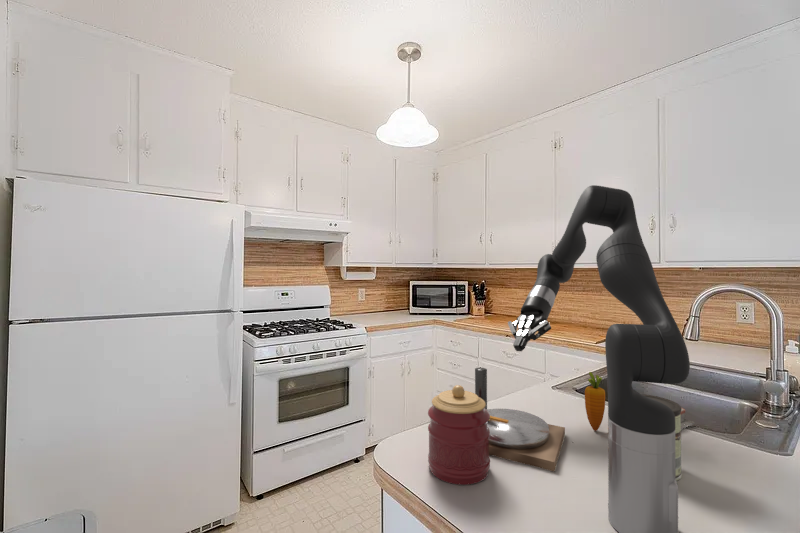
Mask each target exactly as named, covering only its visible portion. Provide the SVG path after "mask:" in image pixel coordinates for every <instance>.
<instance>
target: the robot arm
mask: <svg viewBox="0 0 800 533" xmlns="http://www.w3.org/2000/svg"><path fill="white" fill-rule="evenodd" d="M586 223H587V224H590V225H597V226H601V227H606V228H610V229H611V230H612V233H611V234H610V235H609V236H608V237H607V238H606V239H605V240H604V241H603V242H602V243H601V245H600V247H599V248H598V250H597V252H596V256H595V257H596V258H595V259H596V260H595V261H596V265H597V270H598V274H599V279H600V282H601V284H602V285H603V287H604V288H605V289H606V290H607V291H608V292H609V293H610V294H611V296H613V297H614V298H615V299H617V301H619V302H621V303H622V304H623V305H624V306H625V307H627V308H628V309H629V310H630V311H632V312H633V313H634V314H635V315H636V316H637V317H638V318H639V320H640V321H641V323H642V324H641V323H640V324H639V323H638V324H635V323H613V324H611V325H609V327H608V328H607V330H606V334H605V343H604V346H605V362H606V364H605V365H606V377H607V378H606V379H607V427H608V430H607V431H608V432H607V437H608V438H607V443H608V445H607V454H608V456H607V458H608V460H607V463H608V465H607V467H608V469H607V473H608V478H607V479H608V481H607V484H608V488H607V490H608V491H607V492H608V493H607V494H608V495H607V496H608V497H607V498H608V500H607V501H608V503H607V506H608V508H607V509H608V510H607V511H608V513H607V514H608V521H609V523H610V525H611V526H612V527H613V529H614V530H616V531H617V532H618V533H679V485H678V482H677V481H676V464H675V415H674V412H673V411H672V410H671V409H670V408H669V407H668V406H666V405H664V404H663V403H661V402H658V401H656V400H654V399H651V398H648V397H646V396H644V395H642V394H643V393H640V392H639V391H637V390H635V389H634V388H633V382H637V383H638V382H640V383H648V384H649V383H650V384H651V383H652V384H663V385H676V384H677V385H678V384H681V383H684V382H685V381H686V380H687V378H688V377H689V374H690V368H691V367H690V366H691V364H690V363H691V362H690V355H689V353H688V347H687V345H686V342H685V340H684V337H683V334H682V332H681V330H680V327H679V326H678V324H677V322H676V320H675V318H674V316H673V314H672V313H671V310H670V308H669V307H668V305H667V303H666V301H665V299H664V297H663V294H662V291H661V289H660V287H659V286H660V285H659V282H658V280H657V277H656V274H655V270H654V268H653V265H652V261H651V259H650V256H649V253H648V251H647V248H646V247H645V243H644V242H643V238H642V235H641V232H640V229H639V228H640V227H639V224H638V220H637V215H636V210H635V204H634V200H633V197H632V196H631V194H630V193H629V192H628V191H626V190H623V189H621V188H615V187H608V186H602V185H597V184H596V185H589V186H587V187H586V188H585V189H584V190H583V191H582V193H581V195H579V198H578V200H577V203H576V204H575V207H574V209H573V211H572V213H571V216H570V218H569V221H568V224H567V226H566V229H565V230H564V233H563V235H562V237H561V238H560V240H559V242H558V243H557V245H556V246H555V247H554V249H553V251H552V254H550V253H547V254H544V255H542V256H541V257H540V259H539V261H538V263H537V269H536V270H537V273H536V280H535V282H534V285H533V286H532V288H531V290H530V291H529V293H528V294H527V296H526V298H525V300H524V302H523V305H521V308H520V315H519V316H518V317H517V318H516V320H515V321H513V322H512V321H511V320H510V321H507V326H508V327H509V330H510V332H511V334H512V336H513V337H514V339H515V340H514V342H513V344H512V346H513V348H514V351H516V352H523V350H525V349H526V347H527V344H528V342H530V341H531V340H532V341H536V340H537V339H540V337H542V336H543V335H545V334H546V333H548V332H549V331H551V330H552V326H551V324H550V322H549V321H548V318H549V316H550V313H551V311H552V309H553V307H554V304H555V300H556V298H557V295H558V293H559V291H560V287H561V286H560V284H564V283H567V282H568V281H570V279H571V278H572V275H573V272H574V269H575V265H576V263H577V261H578V260H579V258H580V257H581V256H582V255H583V253H584V252H585V250H586V247H587V238H586V234H585V232H584V227H583V225H584V224H586Z"/></svg>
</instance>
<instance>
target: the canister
mask: <svg viewBox="0 0 800 533" xmlns="http://www.w3.org/2000/svg"><path fill="white" fill-rule="evenodd" d="M431 404H432V405H431V406H430V407H429V409H428V410H427V415H428V417H429V419H430V420H429V421H430V422H429V424H428V426H427V431H428V454H427V457H428V458H427V459H428V460H427V462H428V465H429V466H428V467H429V469H430V470H429V471H430V473H432V474H433V476H435V477H436V478H437V479H439V480H440V481H443V482H446V483H449V484H453V485H459V486H462V485H463V486H465V485H473V484H477V483H480V482H482V481H483V480H485V479H486V478H487V477H488V476H489V473H490V472H489V471H490V467H491V458H490V455H489V435H490V430H489V428H488V426H487V421H488V420H489V418H490V414H489V412H488V411H487V410H488V409H487V410H486V409H485V406H486V403H485V401H484V400H483V399H481V398H480V397H478V396H477V395H476V394H475V392H471V391H469V390H465V388H464V387H463V386H462V385H459V384H456V385H454V386H453V387H452V389H449V390H444V391H441V392H440V393H439V394H437V395H434V397H433V398H432V399H431Z"/></svg>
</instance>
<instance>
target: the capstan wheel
mask: <svg viewBox="0 0 800 533" xmlns="http://www.w3.org/2000/svg"><path fill="white" fill-rule="evenodd" d="M474 394H476V395H477V396H478V397H480V398H481V399H483V400H484V401H485V403H486V406H485V409H486V410H487V411H488V412H489V414H490V418H489V420H488V421H487V426H488V428H489V430H490V435H489V443H491V444H494V445H497V446H501V447H506V448H513V449H529V448H535V447H539V446H542V445H544V444H545V443H546V442H547V441H548V440H549V426H548V424H549V423H547V422H546V421H545V420H544V419H543V418H541V417H539V416H538V415H535V414H533V413H530V412H528V411H523V410H518V409H513V408H512V409H511V408H490V409H489V408H488V369H487V368H485V367H476V368H474Z"/></svg>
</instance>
